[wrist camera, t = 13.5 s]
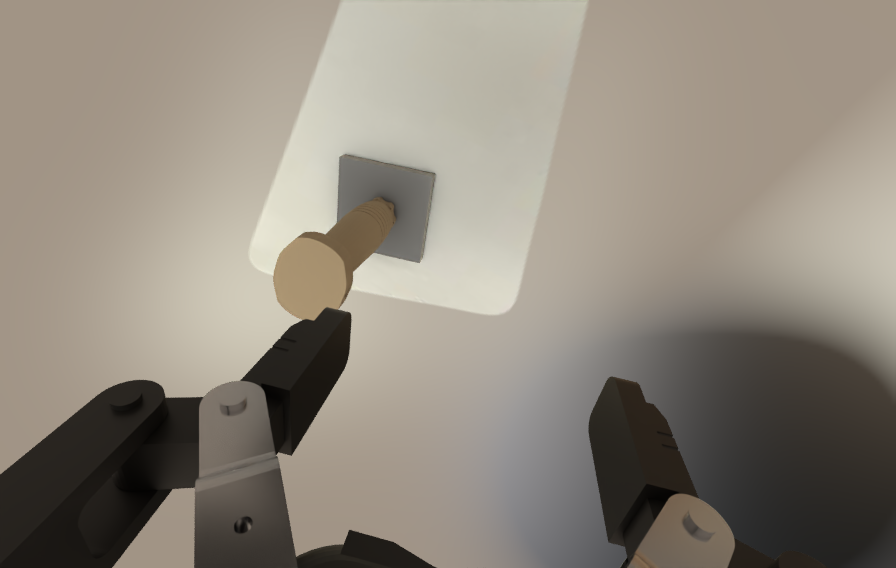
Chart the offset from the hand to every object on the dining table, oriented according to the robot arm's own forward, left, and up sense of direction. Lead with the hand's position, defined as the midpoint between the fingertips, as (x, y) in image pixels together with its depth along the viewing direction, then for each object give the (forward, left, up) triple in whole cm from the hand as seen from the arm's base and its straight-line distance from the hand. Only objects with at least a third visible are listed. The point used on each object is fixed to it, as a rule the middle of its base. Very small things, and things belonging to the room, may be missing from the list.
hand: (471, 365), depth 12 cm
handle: (+6, -11, -27) cm, 30 cm away
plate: (+6, -11, -28) cm, 31 cm away
